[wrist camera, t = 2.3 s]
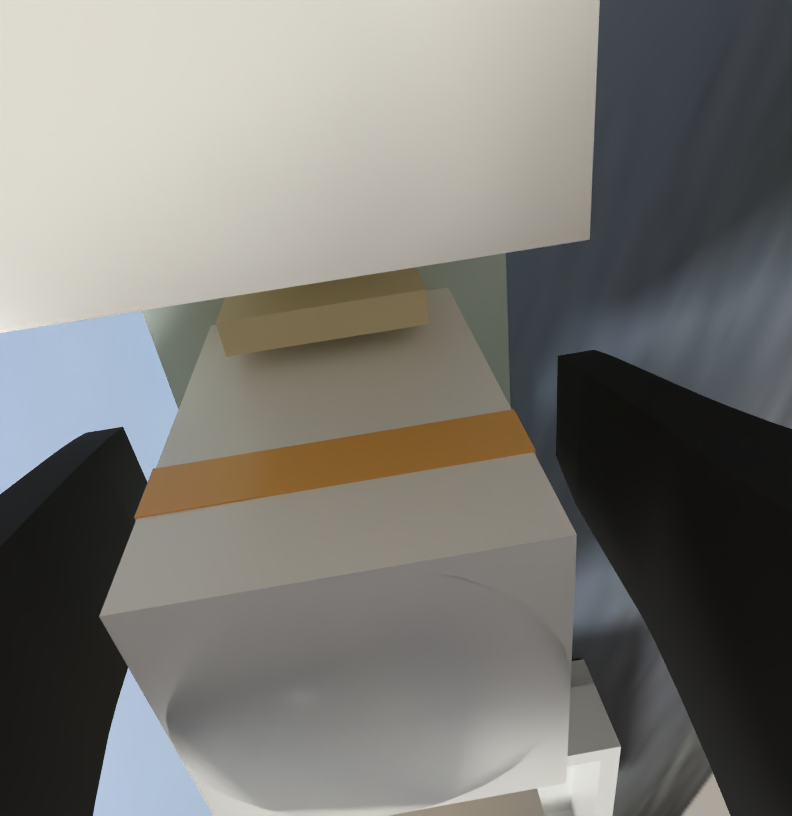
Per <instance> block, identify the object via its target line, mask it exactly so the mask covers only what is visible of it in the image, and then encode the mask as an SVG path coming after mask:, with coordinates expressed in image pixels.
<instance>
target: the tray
mask: <svg viewBox="0 0 792 816" xmlns="http://www.w3.org/2000/svg"><path fill="white" fill-rule="evenodd" d="M620 751H621V745H620V743H619V741H618V738H617V736H616V734H615V731H614V729H613V727H612V724H611V722H610V719H609V717H608V715H607V712H606V710H605V708H604V705H603V703H602V701H601V698H600V696H599V694H598V691H597V689H596V687H595V684H594V682H593V680H592V677H591V675H590V673H589V670H588V668H587V666H586V663H585V661H584V659H581V660H576V661H572V662H571V686H570V709H569V733H568V757H567V780H566V783H564V784H559V785H553V786H548V787H542V788H537V790H538V794H539V797H540V801H541V804H542V808H543V811H544V815H545V816H612V815H613V807H614V799H615V791H616V783H617V775H618V767H619V759H620Z"/></svg>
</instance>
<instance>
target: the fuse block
mask: <svg viewBox="0 0 792 816" xmlns="http://www.w3.org/2000/svg"><path fill="white" fill-rule="evenodd" d="M442 288H449V290H450V292H451V294H452V296H453V298H454V300H455V302H456V304H457V305H458V307H459V309H460V311H461V313H462V315H463V317H464V319H465V321H466V323H467V325H468V327H469V329H470V330H471V332H472V334H473V336H474V338H475V340H476V342H477V344H478V346H479V348H480V350H481V352H482V354H483V355H484V357H485V359H486V361H487V363H488V365H489V367H490V369H491V371H492V373H493V375H494V377H495V378H496V380H497V382H498V384H499V386H500V388H501V390H502V392H503V394H504V396H505V398H506V400H507V402H508V403H509V405H510V407H511V402H510V369H509V337H508V305H507V272H506V253H502V254H496V255H490V256H483V257H477V258H471V259H465V260H458V261H452V262H446V263H439V264H433V265H427V266H420V267H414V268H408V269H401V270H395V271H389V272H382V273H376V274H370V275H364V276H357V277H351V278H345V279H338V280H332V281H326V282H319V283H313V284H307V285H300V286H294V287H288V288H281V289H275V290H269V291H263V292H256V293H250V294H244V295H237V296H231V297H225V298H218V299H212V300H206V301H199V302H193V303H187V304H181V305H174V306H168V307H162V308H155V309H149V310H143V311H142V312H143V315H144V317H145V320H146V323H147V326H148V328H149V331H150V334H151V336H152V339H153V342H154V344H155V347H156V350H157V353H158V355H159V358H160V361H161V363H162V366H163V369H164V371H165V374H166V377H167V379H168V382H169V385H170V388H171V390H172V393H173V396H174V398H175V401H176V404H177V406H178V409H179V407H180V405H181V402H182V400H183V397H184V394H185V392H186V389H187V387H188V384H189V381H190V379H191V376H192V374H193V371H194V368H195V366H196V363H197V360H198V358H199V355H200V353H201V350H202V347H203V345H204V342H205V340H206V337H207V334H208V332H209V329H210V327H211V325H217V328H218V332H219V335H220V338H221V342H222V345H223V348H224V351H225V355H226V357H228V356H234V355H240V354H246V353H253V352H259V351H265V350H271V349H277V348H284V347H290V346H296V345H302V344H308V343H315V342H321V341H327V340H333V339H340V338H346V337H352V336H358V335H364V334H371V333H377V332H383V331H389V330H395V329H402V328H408V327H414V326H420V325H426V324H429V315H428V305H427V296H426V291H429V290H436V289H442Z"/></svg>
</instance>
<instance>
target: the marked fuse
mask: <svg viewBox="0 0 792 816" xmlns="http://www.w3.org/2000/svg"><path fill="white" fill-rule="evenodd" d="M426 296H427V305H428V315H429V324H426V325H420V326H414V327H408V328H402V329H395V330H389V331H383V332H377V333H371V334H364V335H358V336H352V337H346V338H340V339H333V340H327V341H321V342H315V343H308V344H302V345H296V346H290V347H284V348H277V349H271V350H265V351H259V352H253V353H246V354H240V355H234V356H228V357H226V355H225V351H224V348H223V345H222V342H221V338H220V335H219V332H218V328H217V325H211V327H210V329H209V332H208V334H207V337H206V340H205V342H204V345H203V347H202V350H201V353H200V355H199V358H198V360H197V363H196V366H195V368H194V371H193V374H192V376H191V379H190V381H189V384H188V387H187V389H186V392H185V394H184V397H183V400H182V402H181V405H180V407H179V410H178V413H177V415H176V418H175V420H174V423H173V426H172V428H171V431H170V433H169V436H168V439H167V441H166V444H165V446H164V449H163V452H162V454H161V457H160V459H159V462H158V465H157V467H156V468H155V469H153V470H152V473H151V475H150V478H149V480H148V483H147V486H146V488H145V491H144V493H143V496H142V498H141V501H140V503H139V506H138V509H137V511H136V514H135V516H134V518H135V521H136V522H135V525H134V527H133V530H132V532H131V535H130V538H129V540H128V543H127V545H126V548H125V551H124V553H123V556H122V558H121V561H120V564H119V566H118V569H117V571H116V574H115V577H114V579H113V582H112V584H111V587H110V590H109V592H108V595H107V597H106V600H105V603H104V605H103V608H102V610H101V613H100V616H99V617H100V619H101V621H102V622H103V624H104V626H105V627H106V629H107V631H108V633H109V634H110V636H111V638H112V640H113V641H114V643H115V645H116V647H117V648H118V650H119V652H120V654H121V655H122V657H123V659H124V661H125V662H126V664H127V666H128V668H129V669H130V671H131V673H132V674H133V676H134V678H135V680H136V681H137V683H138V685H139V687H140V688H141V690H142V692H143V694H144V695H145V697H146V699H147V701H148V702H149V704H150V706H151V708H152V709H153V711H154V713H155V715H156V716H157V718H158V720H159V721H160V723H161V725H162V727H163V728H164V730H165V732H166V734H167V735H168V737H169V739H170V741H171V742H172V744H173V746H174V748H175V749H176V751H177V753H178V755H179V756H180V758H181V760H182V762H183V763H184V765H185V767H186V768H187V770H188V772H189V774H190V775H191V777H192V779H193V781H194V782H195V784H196V786H197V788H198V789H199V791H200V793H201V795H202V796H203V798H204V800H205V802H206V803H207V805H208V807H209V809H210V810H211V812H212V814H213V815H214V816H388V815H393V814H399V813H404V812H410V811H415V810H421V809H427V808H432V807H438V806H443V805H449V804H454V803H460V802H465V801H471V800H476V799H482V798H487V797H493V796H498V795H504V794H509V793H515V792H520V791H526V790H531V789H537V788H542V787H548V786H553V785H559V784H564V783H566V780H567V757H568V733H569V709H570V686H571V662H572V638H573V615H574V591H575V568H576V544H577V534H576V532H575V530H574V528H573V526H572V524H571V523H570V521H569V519H568V517H567V515H566V513H565V511H564V509H563V507H562V505H561V503H560V501H559V499H558V498H557V496H556V494H555V492H554V490H553V488H552V486H551V484H550V482H549V480H548V478H547V476H546V475H545V473H544V471H543V469H542V467H541V465H540V463H539V461H538V459H537V457H536V450H535V448H534V446H533V444H532V442H531V440H530V438H529V436H528V434H527V433H526V431H525V429H524V427H523V425H522V423H521V421H520V419H519V417H518V416H517V414H516V412H515V410H514V409H511V407H510V405H509V403H508V402H507V400H506V398H505V396H504V394H503V392H502V390H501V388H500V386H499V384H498V382H497V380H496V378H495V377H494V375H493V373H492V371H491V369H490V367H489V365H488V363H487V361H486V359H485V357H484V355H483V354H482V352H481V350H480V348H479V346H478V344H477V342H476V340H475V338H474V336H473V334H472V332H471V330H470V329H469V327H468V325H467V323H466V321H465V319H464V317H463V315H462V313H461V311H460V309H459V307H458V305H457V304H456V302H455V300H454V298H453V296H452V294H451V292H450V290H449V288H442V289H436V290H429V291H426Z"/></svg>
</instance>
